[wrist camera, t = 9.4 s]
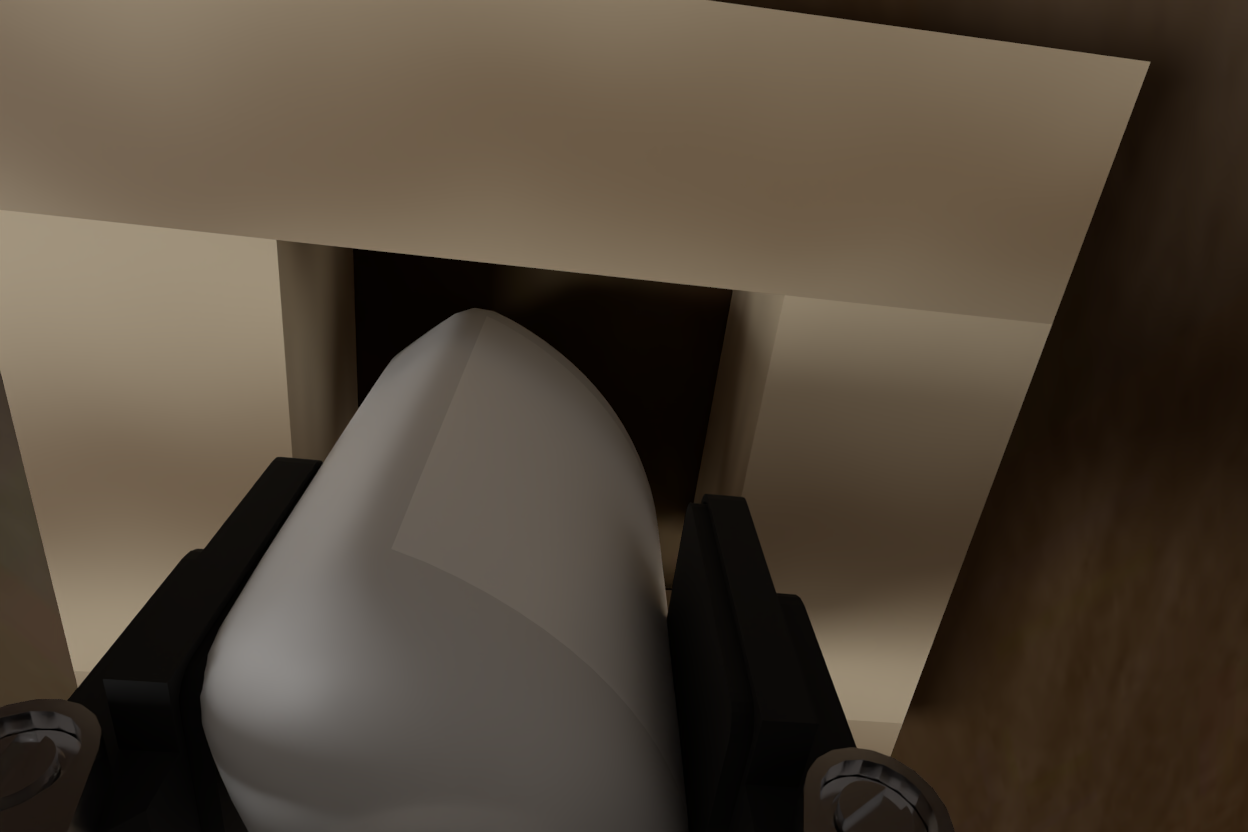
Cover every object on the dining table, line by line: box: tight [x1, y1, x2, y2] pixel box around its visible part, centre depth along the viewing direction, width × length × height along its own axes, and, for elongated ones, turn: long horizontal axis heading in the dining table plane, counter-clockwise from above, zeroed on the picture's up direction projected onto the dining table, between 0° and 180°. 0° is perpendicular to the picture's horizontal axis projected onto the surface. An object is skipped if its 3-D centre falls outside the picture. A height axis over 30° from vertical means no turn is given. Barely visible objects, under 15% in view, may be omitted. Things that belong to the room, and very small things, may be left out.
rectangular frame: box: [0, 0, 1150, 757], centre depth 14 cm, size 15×15×4 cm
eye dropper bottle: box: [200, 308, 689, 832], centre depth 9 cm, size 4×6×12 cm
